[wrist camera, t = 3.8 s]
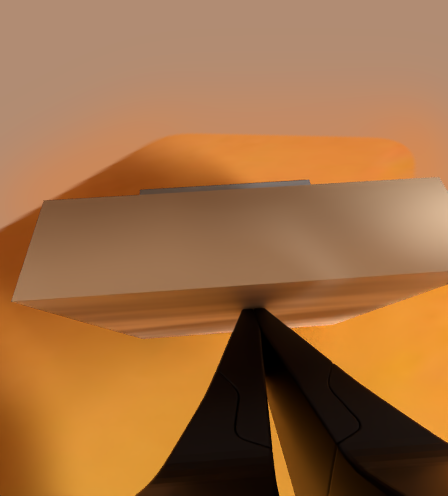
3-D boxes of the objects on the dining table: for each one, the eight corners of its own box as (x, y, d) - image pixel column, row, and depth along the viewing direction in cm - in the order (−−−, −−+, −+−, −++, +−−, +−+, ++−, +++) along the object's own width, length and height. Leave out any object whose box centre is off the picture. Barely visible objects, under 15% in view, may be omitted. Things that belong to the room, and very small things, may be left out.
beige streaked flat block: (332, 324, 15) (494, 268, 6) (142, 338, 15) (11, 301, 6) (321, 279, 16) (439, 177, 7) (146, 291, 16) (43, 200, 7)
